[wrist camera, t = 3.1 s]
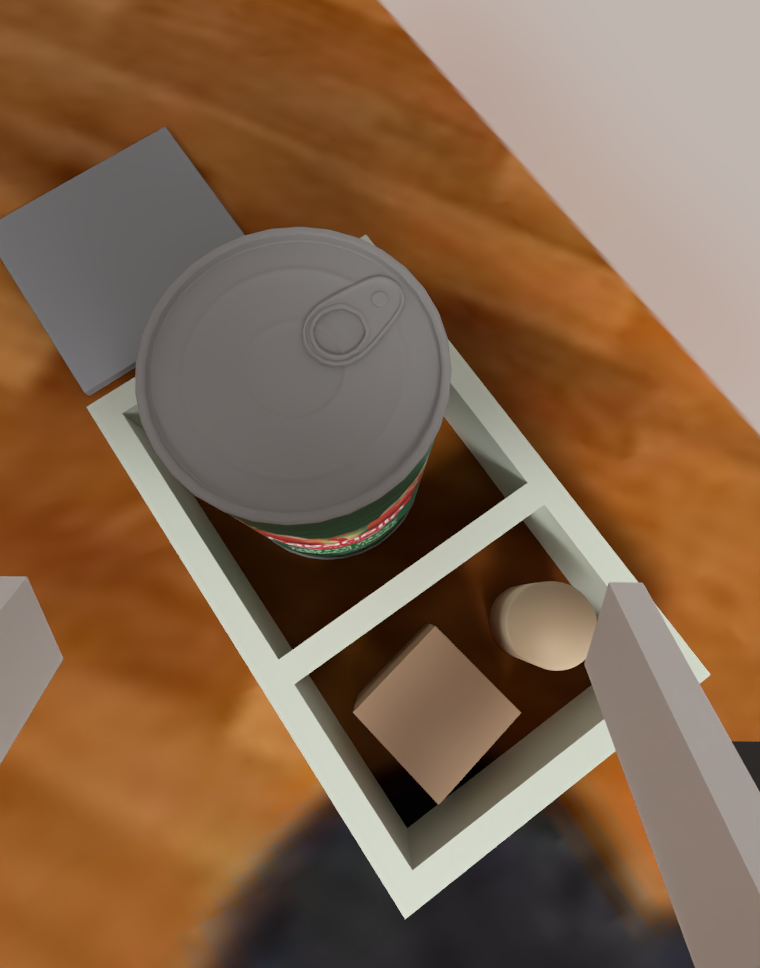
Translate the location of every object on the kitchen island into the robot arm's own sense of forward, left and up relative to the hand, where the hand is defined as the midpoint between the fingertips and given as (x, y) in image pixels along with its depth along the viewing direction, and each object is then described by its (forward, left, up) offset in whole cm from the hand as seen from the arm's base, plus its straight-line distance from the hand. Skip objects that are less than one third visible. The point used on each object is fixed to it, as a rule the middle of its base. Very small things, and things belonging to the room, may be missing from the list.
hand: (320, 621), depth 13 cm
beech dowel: (+4, +6, -10) cm, 13 cm away
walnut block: (+4, +1, -11) cm, 11 cm away
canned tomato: (-6, +3, -11) cm, 12 cm away
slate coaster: (-20, +1, -10) cm, 22 cm away
